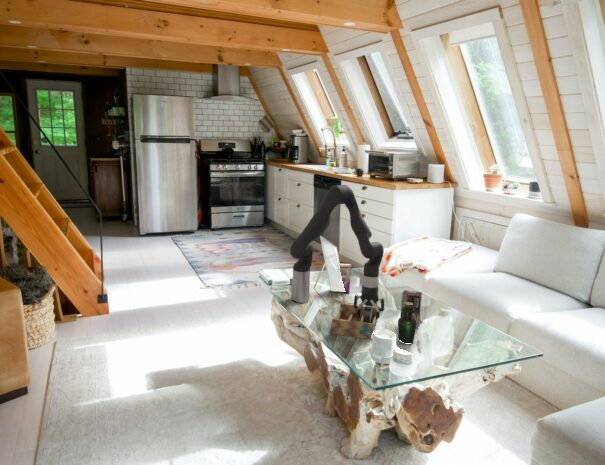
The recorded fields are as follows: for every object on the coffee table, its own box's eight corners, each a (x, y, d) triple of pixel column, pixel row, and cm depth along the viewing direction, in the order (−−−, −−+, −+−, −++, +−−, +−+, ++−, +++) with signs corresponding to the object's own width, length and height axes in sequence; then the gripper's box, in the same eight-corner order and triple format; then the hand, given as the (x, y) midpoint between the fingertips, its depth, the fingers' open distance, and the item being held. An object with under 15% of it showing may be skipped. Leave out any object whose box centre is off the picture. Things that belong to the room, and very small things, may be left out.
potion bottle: (408, 347, 210) (412, 308, 206) (392, 341, 215) (395, 303, 211) (418, 341, 216) (421, 303, 212) (402, 336, 221) (405, 298, 217)
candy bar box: (330, 292, 278) (331, 264, 275) (330, 289, 283) (331, 262, 280) (349, 293, 277) (351, 266, 274) (349, 290, 282) (351, 263, 279)
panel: (362, 331, 223) (363, 310, 221) (365, 321, 234) (367, 302, 232) (369, 331, 222) (370, 311, 220) (372, 322, 233) (373, 302, 231)
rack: (331, 333, 221) (332, 319, 219) (340, 316, 243) (340, 303, 241) (372, 339, 216) (373, 324, 215) (377, 320, 238) (378, 307, 237)
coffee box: (419, 323, 237) (422, 292, 233) (418, 328, 231) (421, 296, 227) (401, 320, 240) (403, 289, 236) (399, 325, 234) (401, 293, 230)
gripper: (353, 285, 222) (351, 318, 225) (385, 288, 219) (382, 322, 222) (356, 280, 229) (354, 313, 232) (386, 283, 226) (384, 316, 229)
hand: (368, 317), depth 227 cm, fingers open, 8 cm apart
